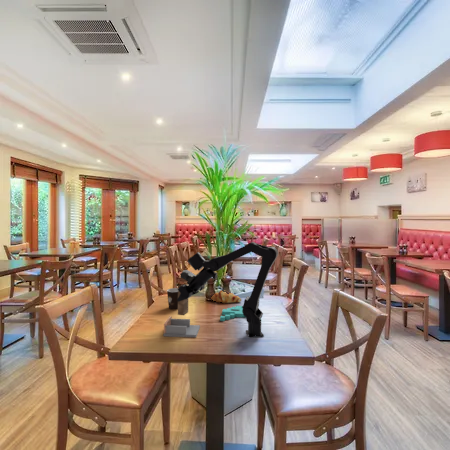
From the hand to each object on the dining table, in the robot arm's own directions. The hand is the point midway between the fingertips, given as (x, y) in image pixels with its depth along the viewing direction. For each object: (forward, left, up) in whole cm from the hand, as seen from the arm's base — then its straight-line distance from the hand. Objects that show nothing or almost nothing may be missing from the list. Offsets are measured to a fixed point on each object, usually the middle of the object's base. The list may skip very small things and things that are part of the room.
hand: (180, 299), depth 135 cm
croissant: (+34, -27, -12) cm, 45 cm away
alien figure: (+8, -32, -12) cm, 35 cm away
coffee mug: (+23, +2, -12) cm, 26 cm away
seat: (-10, -1, -12) cm, 15 cm away
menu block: (-1, -1, -7) cm, 7 cm away
